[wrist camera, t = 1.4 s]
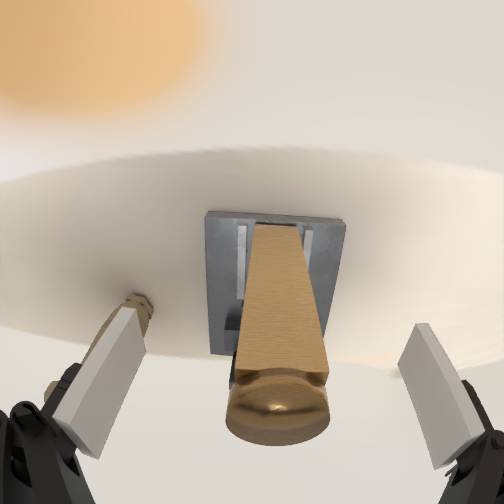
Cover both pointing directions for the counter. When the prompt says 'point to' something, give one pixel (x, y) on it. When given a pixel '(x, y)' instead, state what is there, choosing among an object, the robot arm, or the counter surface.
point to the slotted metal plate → (237, 265)
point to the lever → (279, 347)
